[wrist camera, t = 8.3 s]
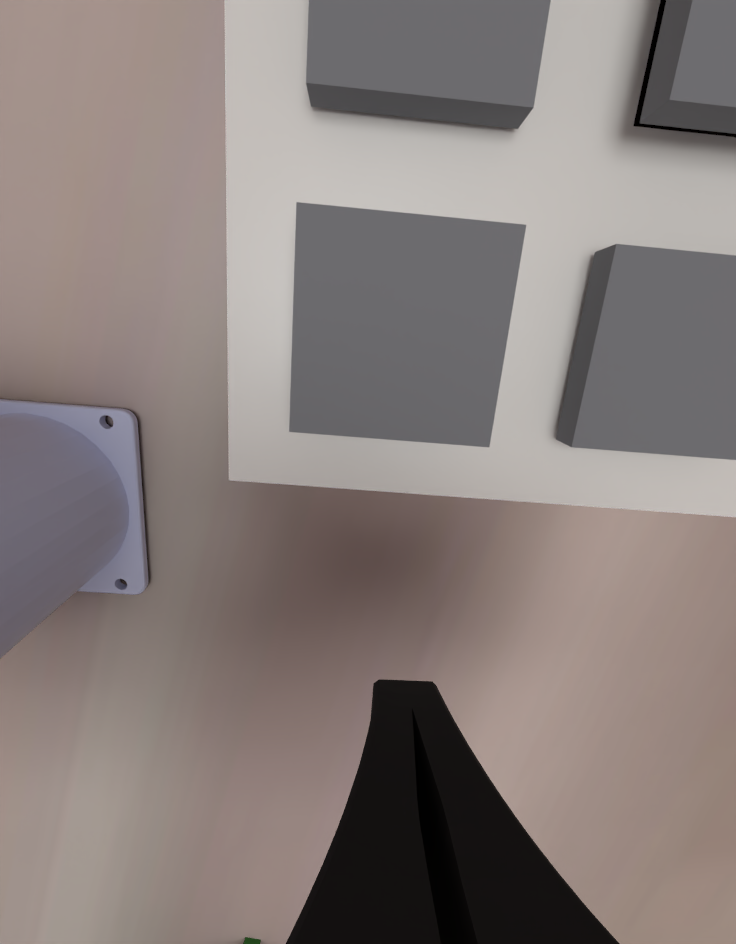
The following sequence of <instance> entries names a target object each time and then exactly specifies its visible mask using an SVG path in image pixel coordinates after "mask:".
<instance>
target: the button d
mask: <svg viewBox="0 0 736 944" xmlns="http://www.w3.org/2000/svg"><path fill="white" fill-rule="evenodd" d="M640 123H642V124H651V125H660V126H669V127H678V128H687V129H696V130H706V131H715V132H724V133H733V134H736V0H666V4H665V9H664V13H663V18H662V22H661V27H660V32H659V36H658V41H657V45H656V50H655V54H654V59H653V64H652V68H651V73H650V77H649V82H648V86H647V91H646V95H645V100H644V105H643V109H642V114H641V118H640Z"/></svg>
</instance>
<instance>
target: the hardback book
mask: <svg viewBox="0 0 736 944" xmlns="http://www.w3.org/2000/svg"><path fill="white" fill-rule="evenodd" d="M260 941H261V940H259V939H253V938H247V937H245V940H244V943H243V944H260Z"/></svg>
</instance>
